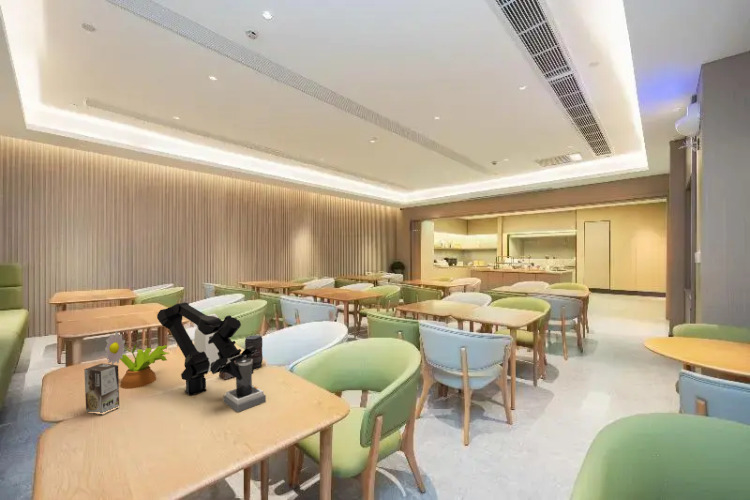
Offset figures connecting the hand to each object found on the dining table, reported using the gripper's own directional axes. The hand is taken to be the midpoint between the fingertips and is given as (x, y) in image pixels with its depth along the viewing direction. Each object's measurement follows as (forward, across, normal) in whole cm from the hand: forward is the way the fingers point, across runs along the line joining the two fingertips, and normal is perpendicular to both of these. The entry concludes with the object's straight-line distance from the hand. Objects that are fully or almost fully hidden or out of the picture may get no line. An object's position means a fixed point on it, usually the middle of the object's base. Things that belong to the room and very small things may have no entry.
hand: (246, 376), depth 130 cm
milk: (-25, -23, -40) cm, 53 cm away
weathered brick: (-11, -20, -26) cm, 35 cm away
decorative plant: (-34, +2, -49) cm, 60 cm away
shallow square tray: (+6, 0, -8) cm, 10 cm away
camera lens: (-10, -31, -25) cm, 41 cm away
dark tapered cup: (+4, 0, -6) cm, 7 cm away
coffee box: (-25, +24, -40) cm, 53 cm away
